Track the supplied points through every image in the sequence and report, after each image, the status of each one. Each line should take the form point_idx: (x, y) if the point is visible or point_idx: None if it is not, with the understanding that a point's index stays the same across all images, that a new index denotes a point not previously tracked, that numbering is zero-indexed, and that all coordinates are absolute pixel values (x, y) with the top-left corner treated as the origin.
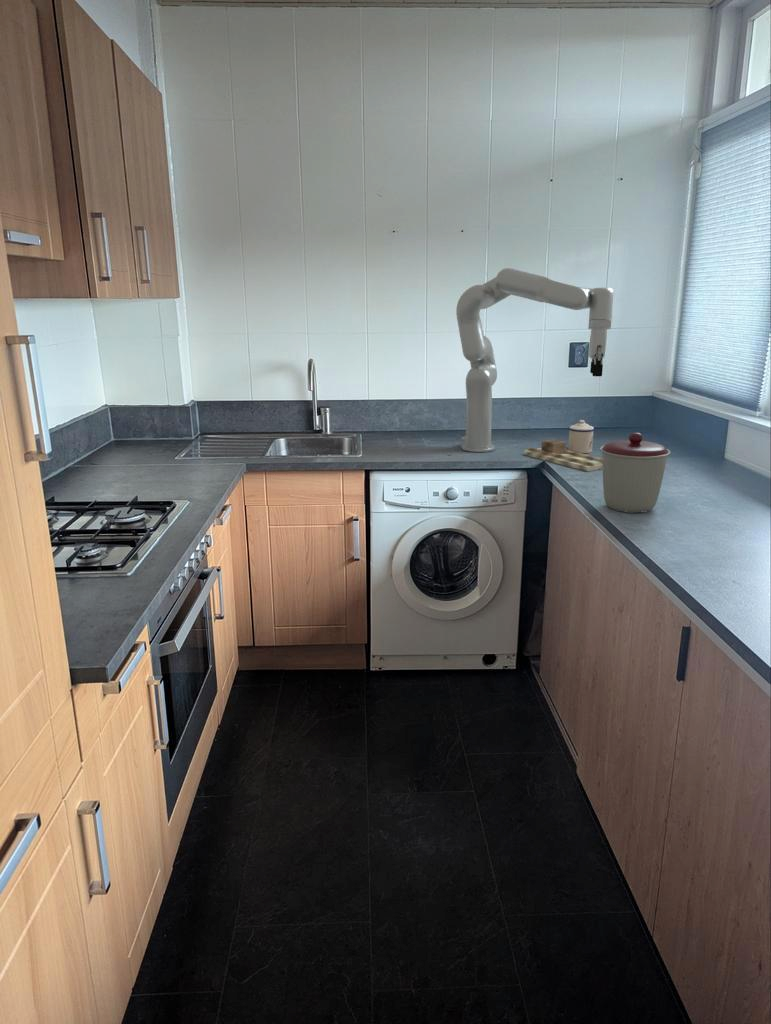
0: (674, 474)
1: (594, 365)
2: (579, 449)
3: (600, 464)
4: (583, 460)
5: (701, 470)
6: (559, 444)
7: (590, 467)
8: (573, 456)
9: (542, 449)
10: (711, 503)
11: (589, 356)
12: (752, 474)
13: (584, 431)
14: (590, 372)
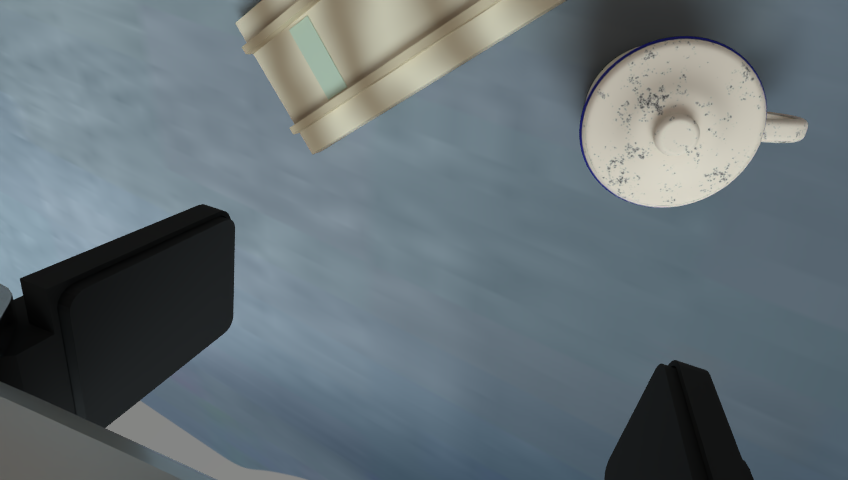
0: (240, 296)
1: (42, 292)
2: (590, 89)
3: (281, 90)
4: (347, 37)
5: (291, 387)
6: None
7: (244, 35)
8: (430, 9)
9: None
10: (8, 237)
11: (13, 434)
12: (259, 465)
13: (580, 121)
14: (677, 362)
